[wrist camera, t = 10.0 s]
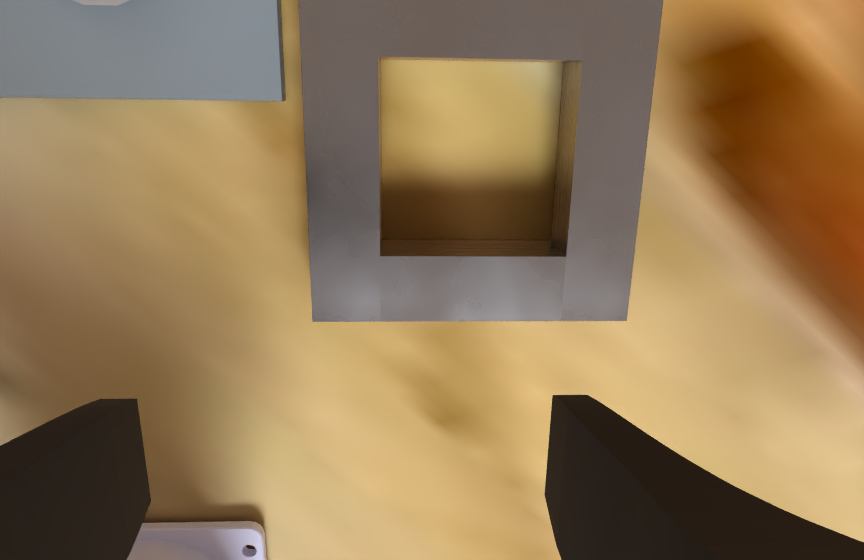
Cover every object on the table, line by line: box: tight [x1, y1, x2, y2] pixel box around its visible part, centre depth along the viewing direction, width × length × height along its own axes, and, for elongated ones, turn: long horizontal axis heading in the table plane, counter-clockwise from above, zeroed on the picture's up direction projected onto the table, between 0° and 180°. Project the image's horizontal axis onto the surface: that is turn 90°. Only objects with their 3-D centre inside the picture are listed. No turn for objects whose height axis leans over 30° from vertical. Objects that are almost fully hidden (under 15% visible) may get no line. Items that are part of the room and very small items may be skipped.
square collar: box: [299, 0, 663, 322], centre depth 19 cm, size 9×9×2 cm
